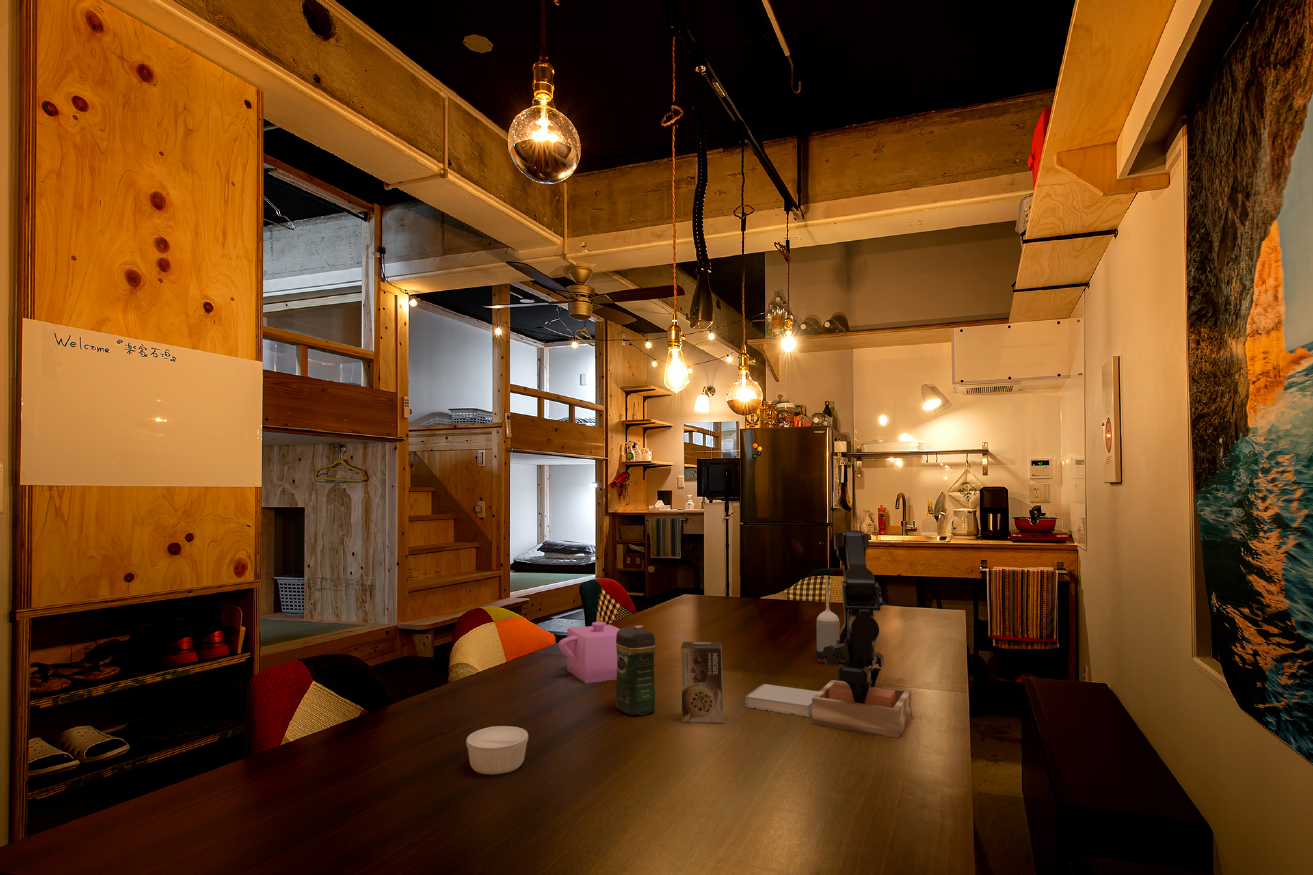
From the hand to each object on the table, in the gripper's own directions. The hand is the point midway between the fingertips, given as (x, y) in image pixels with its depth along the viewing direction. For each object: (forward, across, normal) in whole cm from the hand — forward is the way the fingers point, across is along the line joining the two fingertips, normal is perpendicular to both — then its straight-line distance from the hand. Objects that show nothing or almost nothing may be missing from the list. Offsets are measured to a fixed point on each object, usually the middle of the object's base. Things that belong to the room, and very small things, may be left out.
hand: (862, 705), depth 153 cm
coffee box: (+3, +16, -32) cm, 35 cm away
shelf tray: (+3, 0, 0) cm, 3 cm away
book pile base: (+3, -2, -18) cm, 19 cm away
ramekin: (+3, +58, -54) cm, 79 cm away
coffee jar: (+3, +18, -48) cm, 51 cm away
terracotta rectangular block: (0, 0, 0) cm, 0 cm away
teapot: (+3, -6, -72) cm, 72 cm away
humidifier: (+3, -49, -20) cm, 53 cm away
